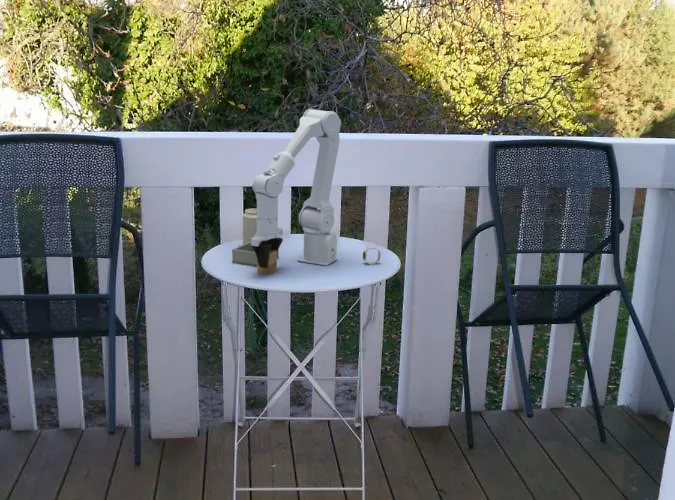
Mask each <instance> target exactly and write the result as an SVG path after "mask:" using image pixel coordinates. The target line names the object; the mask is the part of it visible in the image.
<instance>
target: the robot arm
mask: <svg viewBox="0 0 675 500" xmlns="http://www.w3.org/2000/svg"><path fill="white" fill-rule="evenodd" d="M341 126H342V120H341V119H340V117H339V115H338V114H337V113H336V112H335V111H333V110H330V111H327V110H319V109H314V108H309V109H306V110H305V111H304V112H303V115H302V116H301V117H300V118H299V126H298V127H297V129H296V131H295V132H294V134H293V136H292V137H291V139H290V141H289V142H288V144H287V145H286V147H285V149H284V150H283V151H278V152H277V153H275V154H274V155H273V157H272V160H271V161H270V163H269V164H268V166H267V167H266V168H265V169H264V170H263V173H260V174H258V175H257V176H256V177H255V178H254V181H253V183H252V185H251V187H252V190H253V192H254V194H255V199H256V209H257V233H256V234H255V236H254V237H253V238H251V246H252V248H253V249H254V251H255V253H256V256H257V260H258V264H259V267H262V268H267V265H268V257H269V252H270V250H277V253H278V249H280V247H281V245H282V243H283V242H284V241H283V238H282V235H283V228H281V227H279V226H278V225H279V224H278V221H279V218H278V217H279V216H278V215H279V214H278V213H279V211H278V210H279V209H278V206H279V195H280V194H281V193H283V192H282V191H283V188H284V184H285V179H286V177H287V176H288V175H289V174H290V172H291V171H292V170H293V168H294V167H295V164H296V161H295V158H296V157H297V156H298V155H299V153H300V152H301V151H302V149H303V148H305V146H306V145H307V143H308V142H309V141H310V140H311V139H312V138H315V139H316V140H317V142H318V143H319V148H318V153H317V158H316V163H315V164H316V165H315V170H314V175H313V181H312V186H311V192H310V197H308V198H307V199H306V200H305V201H304V202H303V204H302V208H301V210H300V211H299V214H298V223H299V225H301V227H302V228H301V229H302V231H303V256H302V257H300V258H299V259H298V260H297V262H299V263H300V262H301V263H307V264H314V265H319V266H328V265H330V264H332V263H333V262H335V261H337V260H338V257H337V250H338V249H337V248H338V247H337V246H338V245H337V244H338V239H337V235H336V234H334V233H332V232H331V230H332V229H333V228H334V224H335V216H334V214H335V207H334V206H333V204H332V203H331V202H330V196H331V195H330V194H331V190H332V184H333V180H334V175H335V168H336V163H337V158H338V152H339V147H340V131H341Z"/></svg>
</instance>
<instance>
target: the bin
mask: <svg viewBox="0 0 675 500" xmlns="http://www.w3.org/2000/svg"><path fill="white" fill-rule="evenodd" d="M279 249H280V248H279ZM279 249H278V253H277V259H279V253H280V252H279ZM231 250H232V254H231V255H232V256H231V257H232V258H231V261H232V263H233V264H238V265H245V266H251V267H256V268H257V256H256V253H255V251H254V249H253V248H252V246H251V241H250V242H248V243H246V244H244V245H243V244H242V245H238V246H237V247H235V248H232V249H231Z"/></svg>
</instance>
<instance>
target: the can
mask: <svg viewBox="0 0 675 500" xmlns="http://www.w3.org/2000/svg"><path fill="white" fill-rule="evenodd" d="M256 233H257V207H256V208H246V209H245V210H244V213H243V214H242V245H244V244H246V243H248V242H250V241H251V238H253V237H254V236H255V234H256Z"/></svg>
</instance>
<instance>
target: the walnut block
mask: <svg viewBox="0 0 675 500" xmlns="http://www.w3.org/2000/svg"><path fill="white" fill-rule="evenodd" d="M277 261H278V258H277V250H270V252H269V257H268V265H267V268H262V267H259V264H258V260H257V267H256V268H257V270H256V271H257V273H258V274H265V275H272V274H274V273H275V272H277V271H278V270H277V269H278V266H277V265H278V262H277Z"/></svg>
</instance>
